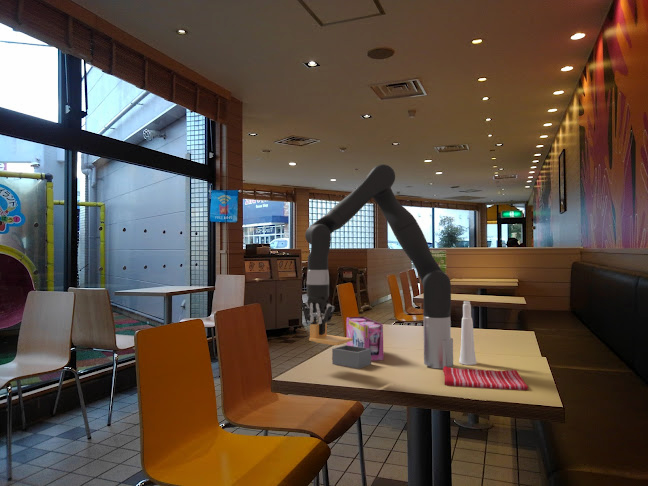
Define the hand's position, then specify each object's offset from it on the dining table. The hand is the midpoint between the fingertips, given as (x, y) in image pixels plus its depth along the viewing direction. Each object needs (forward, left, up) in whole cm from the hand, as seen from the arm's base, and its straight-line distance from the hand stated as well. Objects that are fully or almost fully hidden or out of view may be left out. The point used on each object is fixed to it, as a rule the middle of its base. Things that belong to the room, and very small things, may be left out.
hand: (318, 333), depth 156 cm
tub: (-5, -12, -12) cm, 18 cm away
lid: (-5, 0, -2) cm, 6 cm away
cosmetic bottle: (-36, -40, -13) cm, 55 cm away
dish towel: (-48, -21, -13) cm, 54 cm away
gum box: (0, -29, -13) cm, 31 cm away
